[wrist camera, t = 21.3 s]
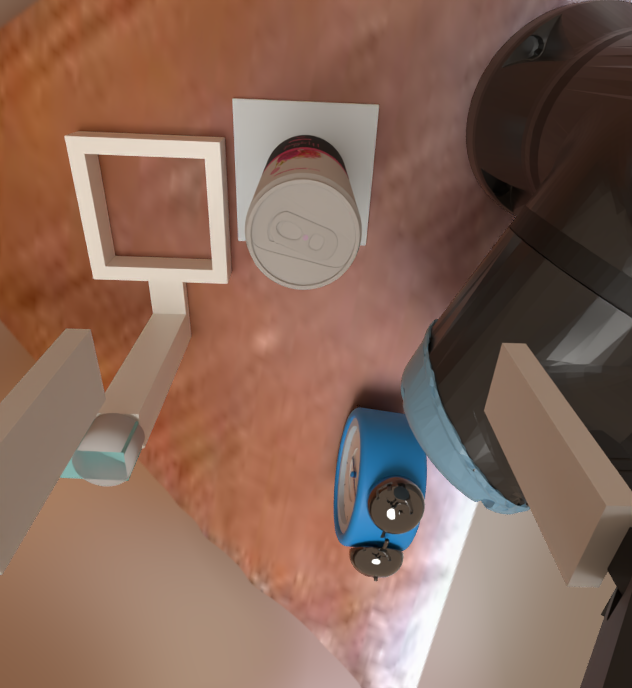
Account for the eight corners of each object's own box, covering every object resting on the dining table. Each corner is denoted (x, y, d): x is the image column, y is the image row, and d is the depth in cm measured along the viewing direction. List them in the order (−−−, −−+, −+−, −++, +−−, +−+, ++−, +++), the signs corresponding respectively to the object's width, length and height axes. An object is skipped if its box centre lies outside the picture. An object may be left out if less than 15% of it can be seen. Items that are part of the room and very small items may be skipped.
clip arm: (-89, 402, 32) (-124, 433, 30) (141, 414, 33) (127, 445, 30) (-71, 444, 34) (-103, 476, 32) (147, 454, 35) (134, 487, 32)
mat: (378, 104, 38) (379, 105, 37) (365, 243, 44) (365, 245, 43) (233, 98, 38) (232, 98, 37) (239, 238, 43) (238, 240, 43)
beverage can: (283, 118, 38) (269, 153, 25) (360, 156, 39) (384, 208, 26) (252, 198, 41) (226, 265, 28) (325, 230, 42) (331, 308, 29)
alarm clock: (355, 379, 51) (370, 491, 38) (413, 388, 52) (447, 501, 39) (330, 471, 58) (335, 593, 45) (382, 478, 58) (402, 600, 45)
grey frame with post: (225, 137, 39) (178, 184, 26) (234, 337, 48) (204, 449, 35) (78, 131, 39) (-48, 175, 25) (116, 333, 48) (39, 445, 35)
